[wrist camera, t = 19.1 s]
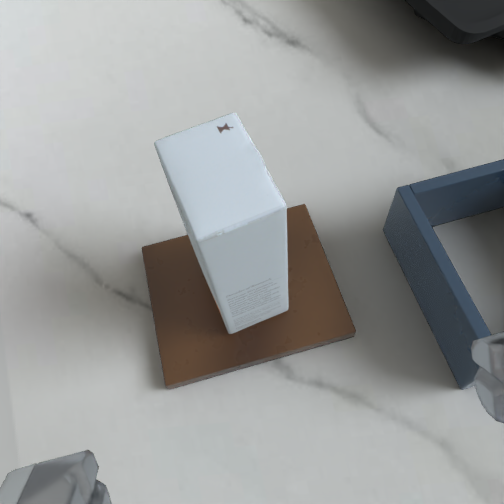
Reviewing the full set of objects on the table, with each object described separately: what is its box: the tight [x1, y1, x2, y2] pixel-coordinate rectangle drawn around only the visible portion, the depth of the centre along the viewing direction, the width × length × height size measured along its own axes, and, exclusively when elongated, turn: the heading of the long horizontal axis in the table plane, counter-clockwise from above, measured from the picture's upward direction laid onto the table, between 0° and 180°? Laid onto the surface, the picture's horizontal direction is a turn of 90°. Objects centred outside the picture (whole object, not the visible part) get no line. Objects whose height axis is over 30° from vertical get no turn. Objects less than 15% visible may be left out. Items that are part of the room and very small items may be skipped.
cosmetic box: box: [154, 113, 289, 334], centre depth 25 cm, size 6×4×12 cm
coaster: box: [142, 204, 356, 389], centre depth 31 cm, size 12×10×1 cm
